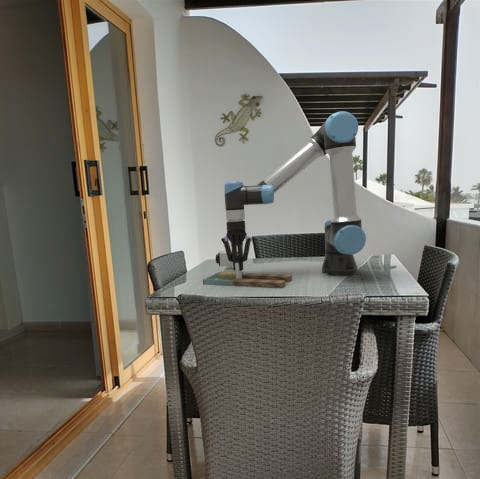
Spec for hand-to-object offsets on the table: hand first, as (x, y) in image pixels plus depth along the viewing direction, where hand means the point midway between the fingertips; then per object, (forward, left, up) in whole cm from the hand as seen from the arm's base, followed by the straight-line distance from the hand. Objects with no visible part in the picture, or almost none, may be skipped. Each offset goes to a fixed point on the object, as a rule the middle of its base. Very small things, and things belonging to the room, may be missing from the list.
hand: (238, 278), depth 145 cm
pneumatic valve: (+11, -15, -3) cm, 18 cm away
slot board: (-10, 0, -2) cm, 10 cm away
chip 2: (+3, 0, -2) cm, 3 cm away
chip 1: (+7, 0, -2) cm, 7 cm away
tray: (+6, 0, -2) cm, 7 cm away
